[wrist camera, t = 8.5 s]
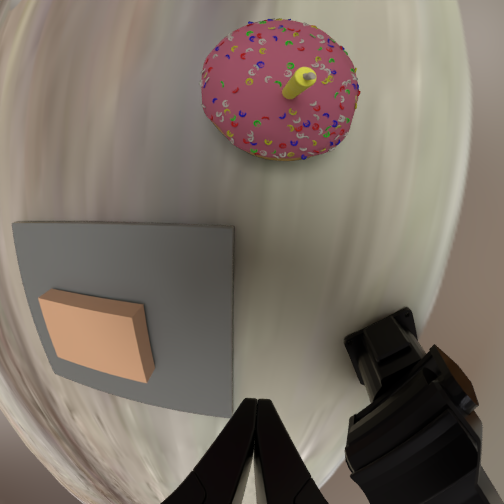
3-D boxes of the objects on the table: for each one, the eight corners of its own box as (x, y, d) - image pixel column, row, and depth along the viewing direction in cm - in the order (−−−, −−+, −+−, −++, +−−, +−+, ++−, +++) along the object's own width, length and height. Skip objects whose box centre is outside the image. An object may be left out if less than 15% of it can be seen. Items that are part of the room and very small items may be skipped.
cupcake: (355, 144, 17) (460, 127, 6) (239, 178, 19) (188, 201, 7) (313, 39, 15) (350, -68, 4) (201, 72, 16) (122, -15, 5)
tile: (131, 317, 19) (38, 297, 20) (146, 383, 21) (57, 356, 22) (144, 302, 21) (53, 287, 22) (156, 366, 23) (69, 344, 24)
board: (234, 226, 20) (232, 228, 19) (232, 413, 26) (231, 418, 25) (16, 221, 21) (11, 223, 20) (57, 370, 27) (54, 373, 26)
